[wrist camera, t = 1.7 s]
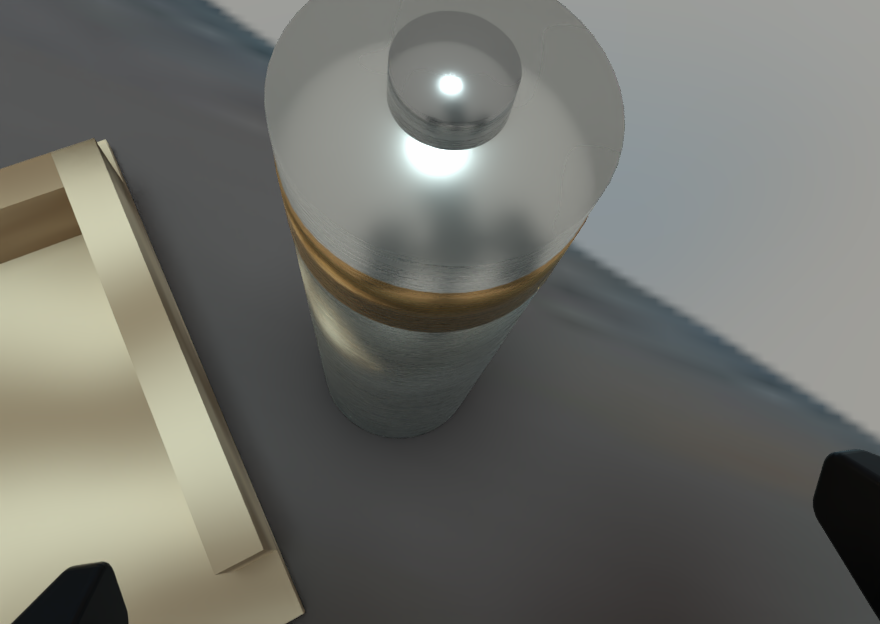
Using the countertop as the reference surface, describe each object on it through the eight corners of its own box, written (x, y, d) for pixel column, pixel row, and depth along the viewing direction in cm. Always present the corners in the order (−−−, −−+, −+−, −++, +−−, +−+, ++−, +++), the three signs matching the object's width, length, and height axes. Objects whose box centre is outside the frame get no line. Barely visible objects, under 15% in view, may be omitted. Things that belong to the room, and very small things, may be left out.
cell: (499, 392, 21) (719, 140, 8) (368, 467, 19) (376, 312, 7) (426, 272, 22) (514, -121, 9) (297, 335, 20) (188, -14, 8)
